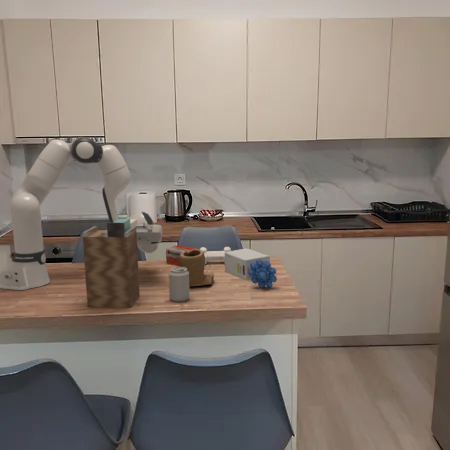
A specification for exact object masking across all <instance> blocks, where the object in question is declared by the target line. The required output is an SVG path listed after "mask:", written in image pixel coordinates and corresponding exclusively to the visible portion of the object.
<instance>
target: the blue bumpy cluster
mask: <svg viewBox="0 0 450 450" xmlns="http://www.w3.org/2000/svg"><path fill="white" fill-rule="evenodd" d="M250 268H251V269H249V270H248V274H249V275H250V276H252V277H251V280H250V281H251V282H252V284H254V285H257V286H258V287H259V288H261V289H264V288H265V287H267V288H272V287H273V284H274V283H276V282H277V281H278V278H277V276H276V275H277V274H276V273H277V269H276V268H275V267H272V263H271V261H270V262H268V261H265V262H264V263H263V261H262V260H261V259H258V260H256V263H254V262H252V263H250Z"/></svg>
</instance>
